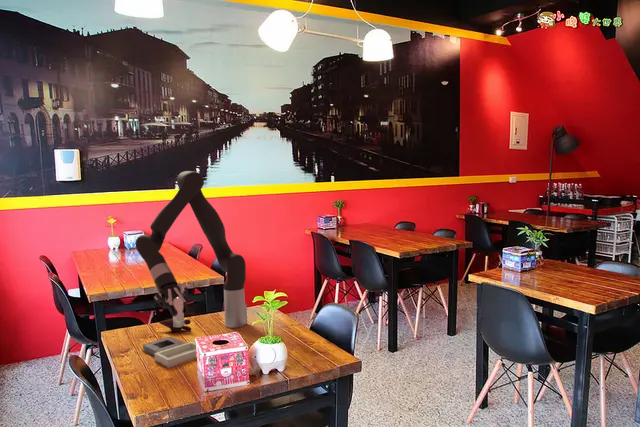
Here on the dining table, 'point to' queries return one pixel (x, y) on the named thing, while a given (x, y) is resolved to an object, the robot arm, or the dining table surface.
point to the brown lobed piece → (169, 324)
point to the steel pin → (178, 312)
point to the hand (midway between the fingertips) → (181, 313)
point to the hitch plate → (161, 345)
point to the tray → (176, 355)
